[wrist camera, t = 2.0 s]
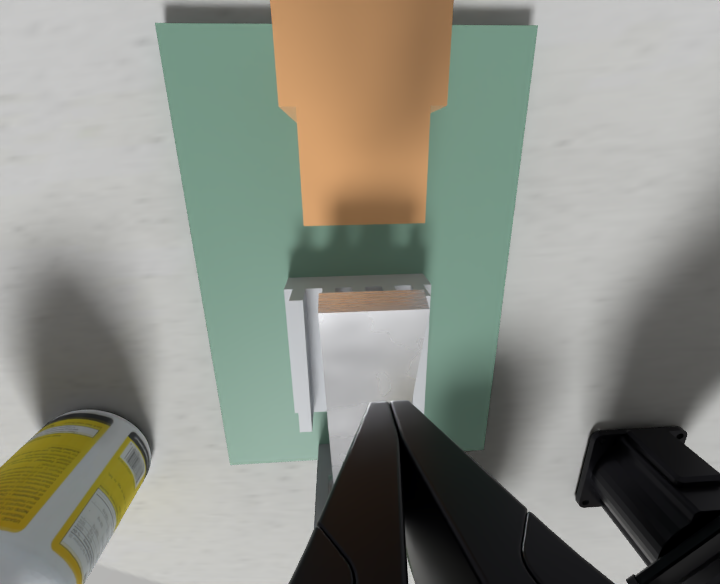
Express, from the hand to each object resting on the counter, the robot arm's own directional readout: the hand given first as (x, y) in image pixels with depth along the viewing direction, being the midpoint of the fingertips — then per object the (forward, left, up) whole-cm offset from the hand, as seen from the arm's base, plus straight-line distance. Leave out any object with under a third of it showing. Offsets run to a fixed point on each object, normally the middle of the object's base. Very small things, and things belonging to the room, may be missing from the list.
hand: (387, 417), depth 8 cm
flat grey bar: (-5, 0, -6) cm, 8 cm away
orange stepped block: (+6, 0, -12) cm, 13 cm away
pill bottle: (-11, +16, -13) cm, 24 cm away
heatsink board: (-1, 0, -13) cm, 13 cm away
